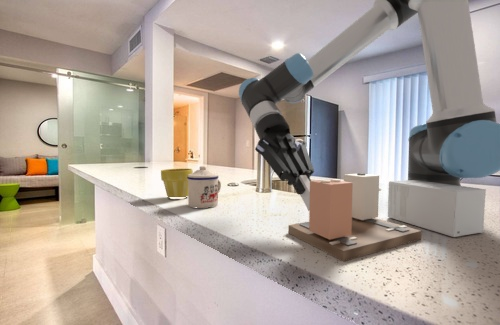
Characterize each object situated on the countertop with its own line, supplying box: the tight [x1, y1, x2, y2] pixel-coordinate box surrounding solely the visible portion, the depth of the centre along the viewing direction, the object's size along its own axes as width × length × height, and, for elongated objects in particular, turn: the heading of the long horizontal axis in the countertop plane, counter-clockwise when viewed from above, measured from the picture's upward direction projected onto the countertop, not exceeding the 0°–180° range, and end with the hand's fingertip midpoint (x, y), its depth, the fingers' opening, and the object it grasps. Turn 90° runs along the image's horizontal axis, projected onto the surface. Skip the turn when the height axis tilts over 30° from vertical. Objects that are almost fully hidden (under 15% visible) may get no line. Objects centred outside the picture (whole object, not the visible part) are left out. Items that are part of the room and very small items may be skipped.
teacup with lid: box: [187, 165, 222, 209], centre depth 75 cm, size 12×9×12 cm
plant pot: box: [160, 168, 194, 198], centre depth 85 cm, size 10×10×10 cm
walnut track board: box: [287, 217, 422, 262], centre depth 48 cm, size 20×14×2 cm
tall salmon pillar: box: [308, 178, 353, 240], centre depth 44 cm, size 5×5×9 cm
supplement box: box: [387, 179, 487, 238], centre depth 55 cm, size 9×9×15 cm
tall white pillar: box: [343, 172, 380, 220], centre depth 54 cm, size 5×5×9 cm
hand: (314, 206), depth 47 cm, fingers closed
